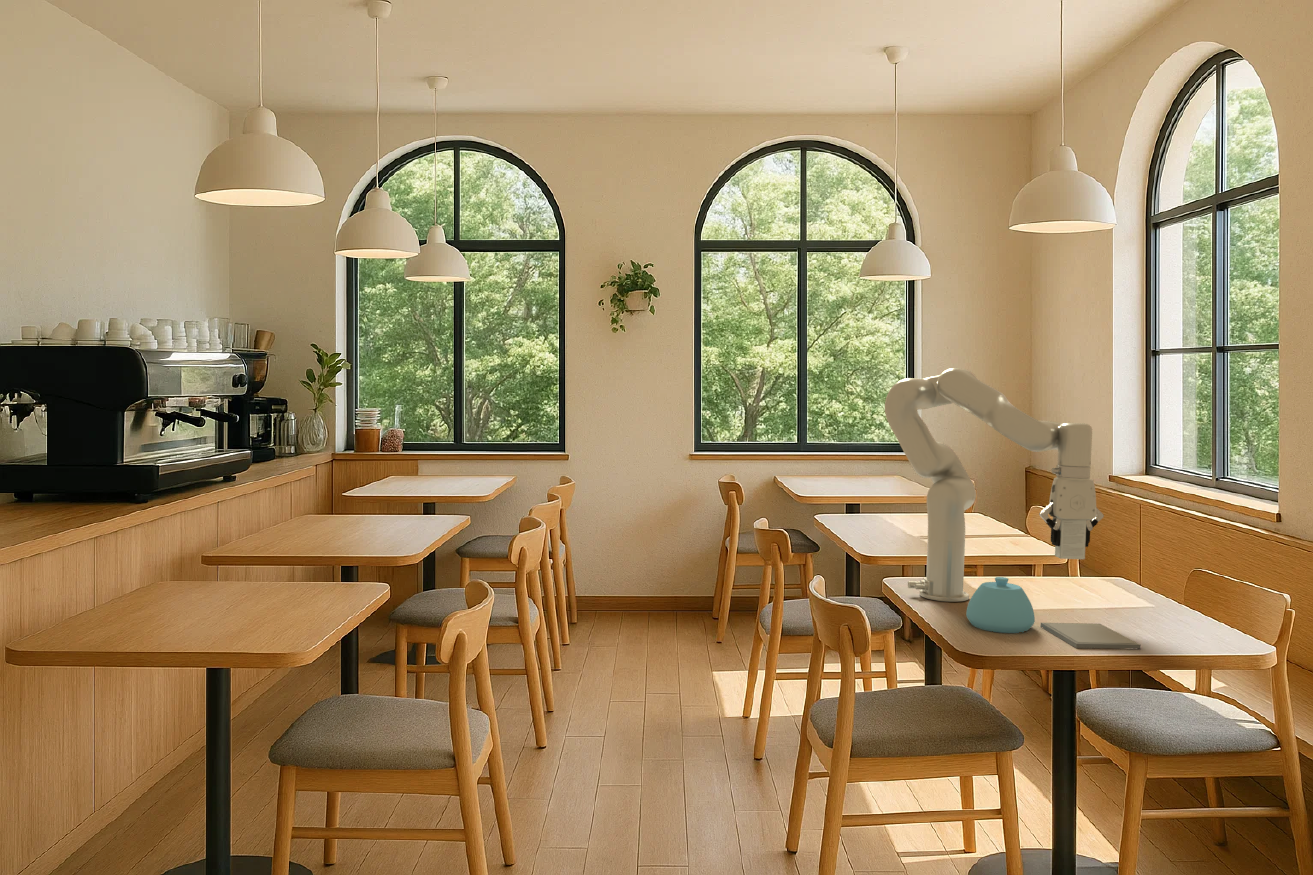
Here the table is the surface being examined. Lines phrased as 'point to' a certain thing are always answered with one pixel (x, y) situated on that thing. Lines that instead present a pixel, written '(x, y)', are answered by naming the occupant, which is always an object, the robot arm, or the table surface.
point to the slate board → (1089, 635)
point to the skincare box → (1072, 540)
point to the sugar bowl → (1000, 607)
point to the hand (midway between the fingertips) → (1069, 544)
